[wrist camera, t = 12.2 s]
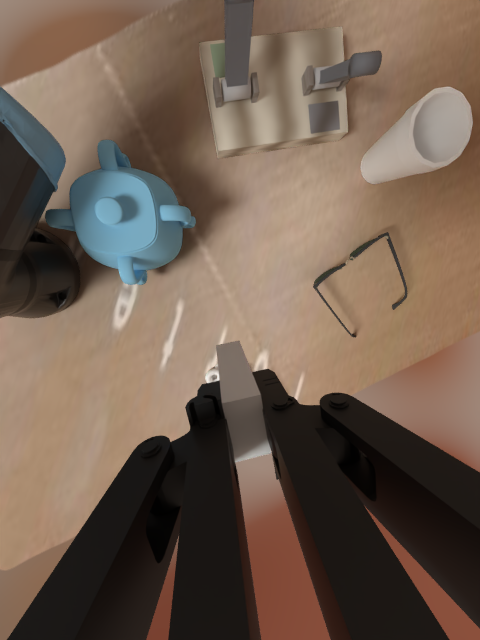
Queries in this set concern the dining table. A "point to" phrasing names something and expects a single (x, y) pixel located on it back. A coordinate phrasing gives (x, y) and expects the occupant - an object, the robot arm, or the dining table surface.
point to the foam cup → (421, 138)
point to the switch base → (277, 93)
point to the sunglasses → (354, 255)
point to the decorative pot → (124, 216)
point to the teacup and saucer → (212, 375)
